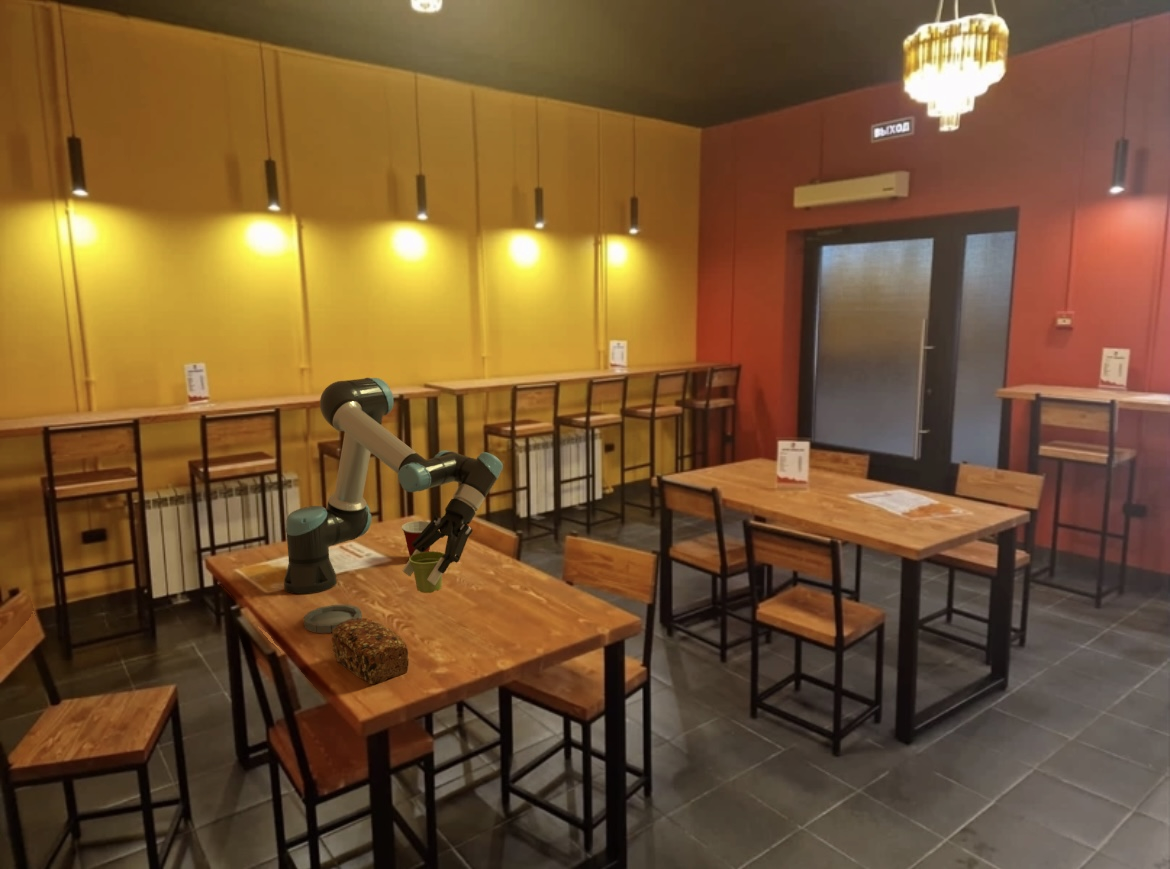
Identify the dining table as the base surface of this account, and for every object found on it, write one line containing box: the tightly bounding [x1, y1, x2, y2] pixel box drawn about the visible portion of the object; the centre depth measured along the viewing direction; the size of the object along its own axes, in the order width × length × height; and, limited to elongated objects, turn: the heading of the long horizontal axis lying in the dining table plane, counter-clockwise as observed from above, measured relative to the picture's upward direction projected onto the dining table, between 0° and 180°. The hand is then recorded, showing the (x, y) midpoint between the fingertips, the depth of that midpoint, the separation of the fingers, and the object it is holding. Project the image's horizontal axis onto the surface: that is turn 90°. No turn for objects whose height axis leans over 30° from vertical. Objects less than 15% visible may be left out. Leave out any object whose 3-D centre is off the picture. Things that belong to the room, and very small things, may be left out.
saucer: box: [303, 604, 363, 634], centre depth 211 cm, size 14×14×2 cm
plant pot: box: [408, 550, 445, 594], centre depth 202 cm, size 9×9×9 cm
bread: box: [331, 617, 409, 685], centre depth 184 cm, size 19×11×10 cm, turn 43°
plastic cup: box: [401, 520, 431, 557], centre depth 262 cm, size 11×11×12 cm
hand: (418, 578), depth 199 cm, fingers closed on plant pot, 9 cm apart
